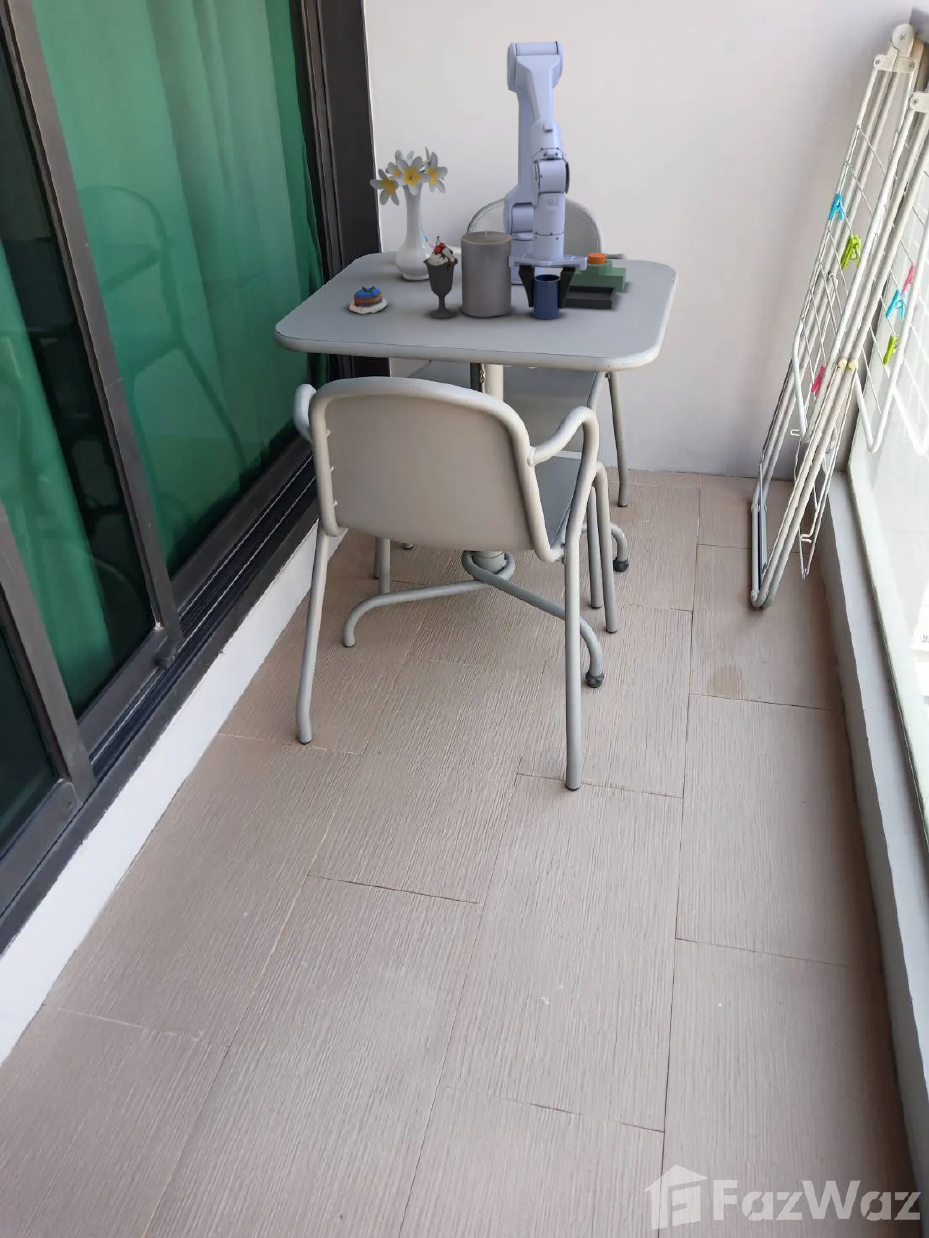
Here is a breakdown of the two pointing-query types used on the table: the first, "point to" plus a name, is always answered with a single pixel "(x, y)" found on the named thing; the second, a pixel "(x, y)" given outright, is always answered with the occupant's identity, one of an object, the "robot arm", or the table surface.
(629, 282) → the table surface
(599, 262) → the button
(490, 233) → the pillar candle
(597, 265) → the green button base
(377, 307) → the dessert
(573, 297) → the tray
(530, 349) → the table surface
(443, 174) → the flower vase
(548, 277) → the cup
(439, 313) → the sundae
